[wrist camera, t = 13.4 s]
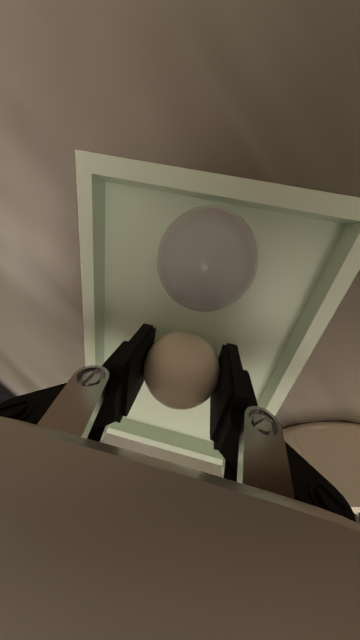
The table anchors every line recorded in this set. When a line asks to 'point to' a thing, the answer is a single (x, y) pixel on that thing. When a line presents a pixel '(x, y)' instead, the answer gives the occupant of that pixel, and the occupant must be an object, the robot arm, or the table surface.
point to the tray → (221, 325)
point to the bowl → (331, 454)
